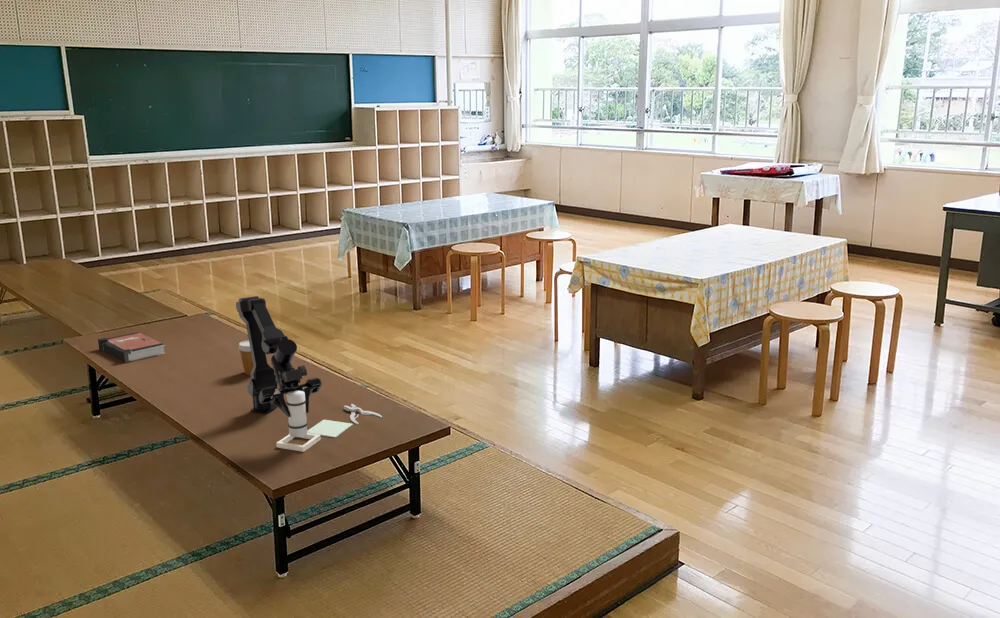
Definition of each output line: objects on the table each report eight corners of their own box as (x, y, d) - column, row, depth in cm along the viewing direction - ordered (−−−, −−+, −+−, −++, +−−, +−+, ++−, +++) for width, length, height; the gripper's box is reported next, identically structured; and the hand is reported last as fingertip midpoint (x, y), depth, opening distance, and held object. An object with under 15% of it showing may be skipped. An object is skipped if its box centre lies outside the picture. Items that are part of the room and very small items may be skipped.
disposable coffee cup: (269, 368, 319) (267, 339, 316) (260, 376, 310) (257, 346, 307) (246, 367, 320) (243, 338, 317) (236, 376, 311) (233, 346, 308)
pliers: (356, 421, 265) (335, 407, 276) (357, 425, 265) (335, 412, 277) (382, 414, 271) (360, 401, 282) (383, 418, 271) (360, 405, 283)
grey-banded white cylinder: (285, 435, 248) (282, 395, 245) (295, 428, 254) (293, 389, 250) (301, 438, 247) (298, 398, 243) (311, 430, 252) (308, 391, 248)
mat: (305, 433, 259) (305, 432, 259) (323, 420, 269) (323, 419, 269) (335, 437, 255) (335, 436, 255) (353, 424, 265) (353, 423, 265)
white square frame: (276, 447, 248) (276, 442, 248) (294, 435, 257) (294, 430, 257) (303, 451, 245) (303, 447, 245) (320, 439, 254) (320, 435, 253)
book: (167, 354, 338) (166, 343, 337) (125, 364, 326) (123, 352, 324) (140, 341, 355) (139, 330, 354) (99, 350, 343) (97, 339, 342)
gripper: (258, 363, 242) (273, 409, 236) (318, 352, 252) (333, 396, 246) (252, 380, 251) (266, 425, 245) (310, 369, 261) (325, 412, 255)
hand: (298, 414), depth 247 cm, fingers closed on grey-banded white cylinder, 5 cm apart
